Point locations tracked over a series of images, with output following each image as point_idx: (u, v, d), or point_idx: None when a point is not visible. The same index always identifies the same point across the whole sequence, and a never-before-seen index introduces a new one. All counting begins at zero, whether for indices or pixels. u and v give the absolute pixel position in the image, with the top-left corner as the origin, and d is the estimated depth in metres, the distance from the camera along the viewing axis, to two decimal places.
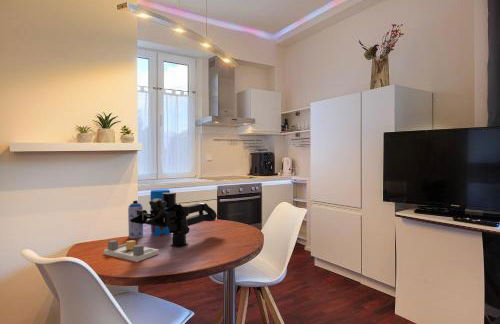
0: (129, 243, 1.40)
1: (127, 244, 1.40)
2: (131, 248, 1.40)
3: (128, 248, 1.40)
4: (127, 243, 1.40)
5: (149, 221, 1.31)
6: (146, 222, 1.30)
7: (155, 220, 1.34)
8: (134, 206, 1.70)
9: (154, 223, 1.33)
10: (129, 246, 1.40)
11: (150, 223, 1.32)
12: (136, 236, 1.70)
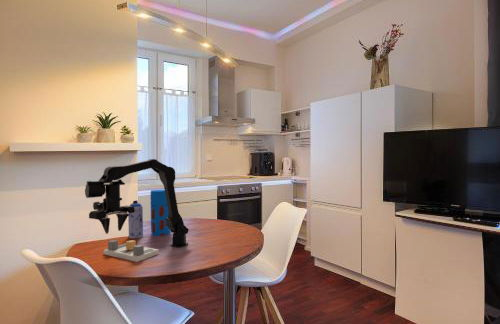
0: (129, 243, 1.40)
1: (127, 244, 1.40)
2: (131, 248, 1.40)
3: (128, 248, 1.40)
4: (127, 243, 1.40)
5: (105, 230, 1.30)
6: (106, 232, 1.31)
7: (104, 223, 1.30)
8: (134, 206, 1.70)
9: (105, 225, 1.29)
10: (129, 246, 1.40)
11: (106, 229, 1.30)
12: (136, 236, 1.70)
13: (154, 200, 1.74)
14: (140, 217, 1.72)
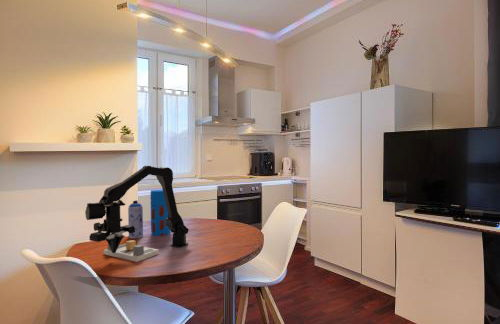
0: (129, 243, 1.40)
1: (127, 244, 1.40)
2: (131, 248, 1.40)
3: (128, 248, 1.40)
4: (127, 243, 1.40)
5: (111, 249, 1.33)
6: (112, 252, 1.33)
7: (110, 242, 1.33)
8: (134, 206, 1.70)
9: (112, 245, 1.32)
10: (129, 246, 1.40)
11: (112, 248, 1.32)
12: (136, 236, 1.70)
13: (154, 200, 1.74)
14: (140, 217, 1.72)
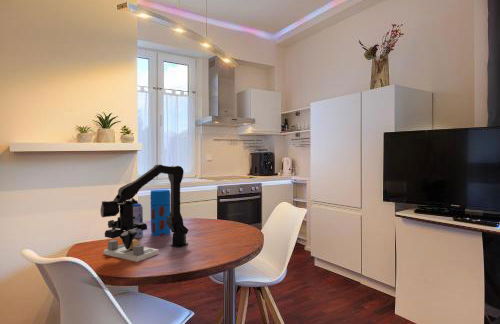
0: None
1: None
2: None
3: (130, 247, 1.41)
4: None
5: (125, 246, 1.39)
6: (126, 248, 1.39)
7: (124, 239, 1.39)
8: (134, 206, 1.70)
9: (126, 241, 1.38)
10: (132, 246, 1.41)
11: (126, 245, 1.38)
12: (136, 236, 1.70)
13: (154, 200, 1.74)
14: (140, 217, 1.72)
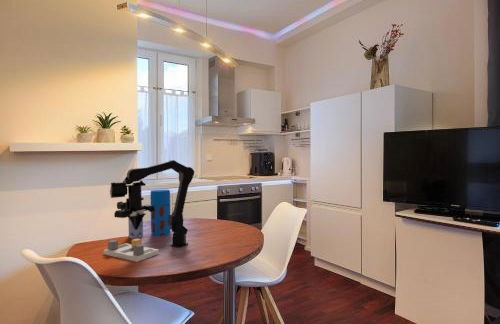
0: (135, 241, 1.42)
1: (133, 242, 1.43)
2: None
3: None
4: (133, 241, 1.43)
5: (134, 226, 1.43)
6: (135, 228, 1.43)
7: (133, 219, 1.43)
8: None
9: (134, 222, 1.42)
10: (135, 245, 1.42)
11: (135, 225, 1.43)
12: (136, 236, 1.70)
13: (154, 200, 1.74)
14: None
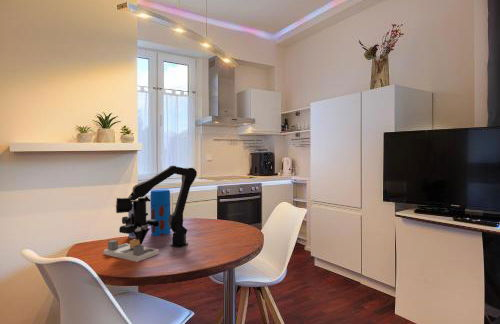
0: (133, 242, 1.42)
1: (131, 243, 1.42)
2: None
3: (132, 247, 1.42)
4: (131, 242, 1.42)
5: None
6: None
7: (137, 234, 1.45)
8: None
9: (139, 237, 1.44)
10: (133, 245, 1.42)
11: None
12: None
13: (154, 200, 1.74)
14: None
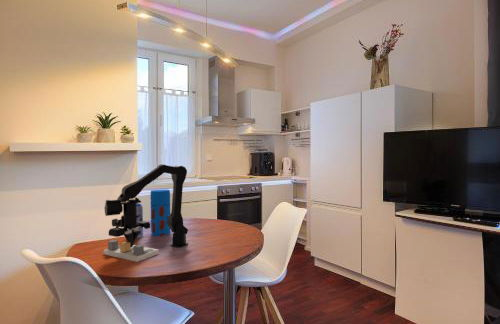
0: (123, 245, 1.37)
1: (121, 246, 1.38)
2: (125, 250, 1.37)
3: (122, 250, 1.37)
4: (121, 245, 1.38)
5: None
6: (130, 246, 1.41)
7: (128, 237, 1.40)
8: None
9: (129, 240, 1.40)
10: (123, 248, 1.37)
11: (130, 243, 1.40)
12: None
13: (154, 200, 1.74)
14: (140, 217, 1.72)
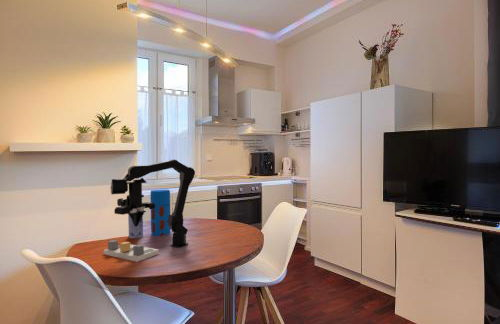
0: (123, 245, 1.37)
1: (121, 246, 1.38)
2: (125, 250, 1.37)
3: (122, 250, 1.37)
4: (121, 245, 1.38)
5: (134, 223, 1.43)
6: (135, 226, 1.44)
7: (133, 216, 1.43)
8: None
9: (134, 219, 1.42)
10: (124, 248, 1.37)
11: (135, 222, 1.43)
12: (136, 236, 1.70)
13: (154, 200, 1.74)
14: None
